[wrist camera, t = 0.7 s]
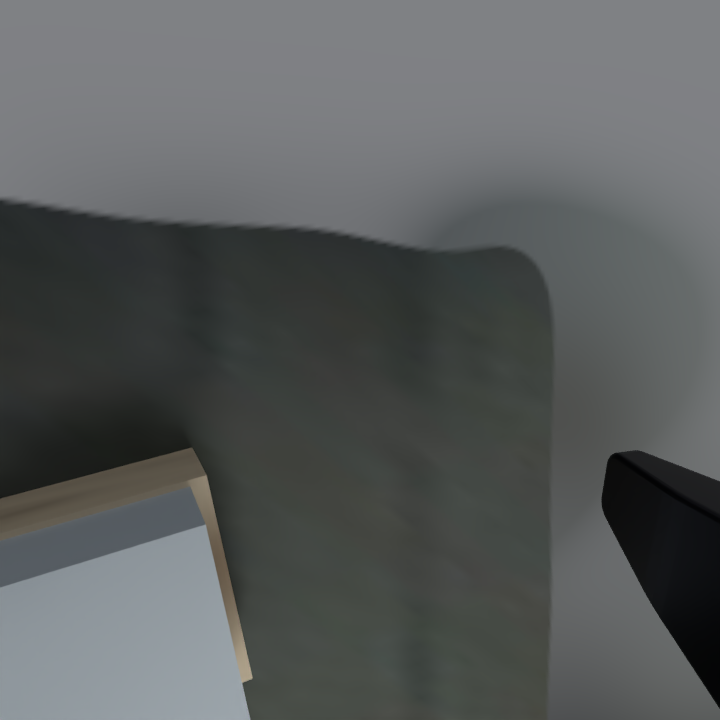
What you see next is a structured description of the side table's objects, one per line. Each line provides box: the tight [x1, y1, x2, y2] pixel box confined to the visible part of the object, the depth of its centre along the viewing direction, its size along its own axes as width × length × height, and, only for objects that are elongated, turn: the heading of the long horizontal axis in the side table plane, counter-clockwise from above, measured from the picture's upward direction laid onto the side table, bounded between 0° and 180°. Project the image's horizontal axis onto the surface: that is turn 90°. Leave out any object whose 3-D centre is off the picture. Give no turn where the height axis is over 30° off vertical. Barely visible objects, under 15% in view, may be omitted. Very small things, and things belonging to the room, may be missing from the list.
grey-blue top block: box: [0, 487, 250, 720], centre depth 16 cm, size 6×6×3 cm
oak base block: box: [0, 448, 253, 683], centre depth 19 cm, size 6×6×4 cm
